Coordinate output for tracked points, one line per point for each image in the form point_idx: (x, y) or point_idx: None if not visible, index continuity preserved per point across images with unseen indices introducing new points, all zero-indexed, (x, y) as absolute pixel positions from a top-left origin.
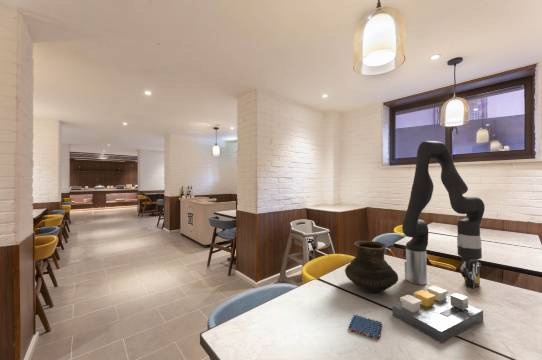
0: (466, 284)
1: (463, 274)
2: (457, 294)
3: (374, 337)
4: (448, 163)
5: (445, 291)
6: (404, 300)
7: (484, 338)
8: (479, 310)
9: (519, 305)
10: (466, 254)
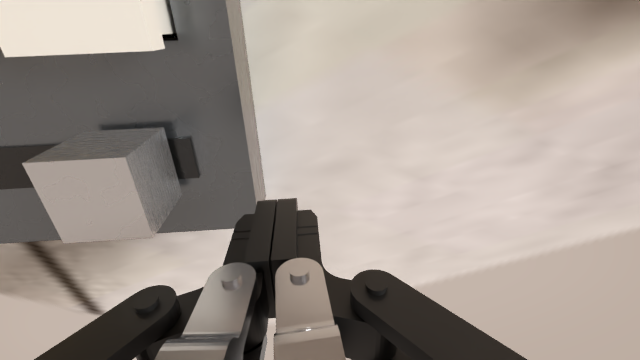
0: (256, 210)
1: (98, 352)
2: (104, 181)
3: None
4: None
5: (104, 52)
6: None
7: (124, 257)
8: (236, 220)
9: (605, 191)
10: None
